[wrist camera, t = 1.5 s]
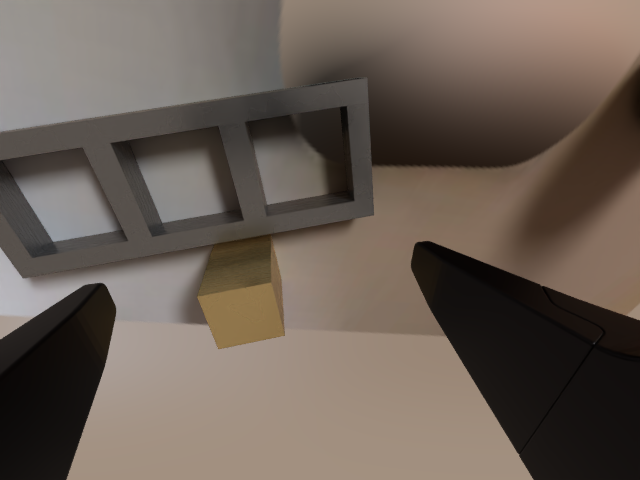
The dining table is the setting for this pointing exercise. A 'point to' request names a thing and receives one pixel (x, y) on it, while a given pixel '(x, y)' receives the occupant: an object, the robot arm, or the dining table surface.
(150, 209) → the grey flat frame
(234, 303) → the brass block
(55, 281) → the dining table surface
